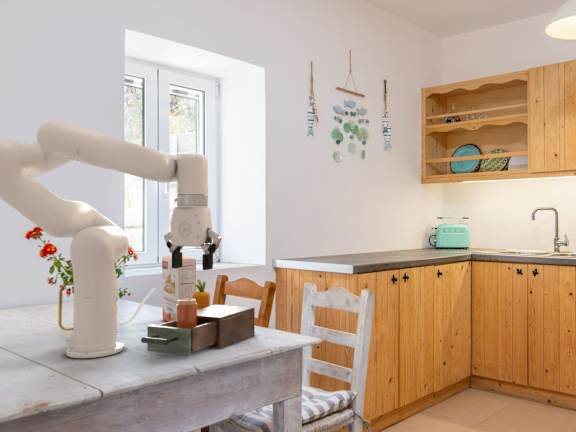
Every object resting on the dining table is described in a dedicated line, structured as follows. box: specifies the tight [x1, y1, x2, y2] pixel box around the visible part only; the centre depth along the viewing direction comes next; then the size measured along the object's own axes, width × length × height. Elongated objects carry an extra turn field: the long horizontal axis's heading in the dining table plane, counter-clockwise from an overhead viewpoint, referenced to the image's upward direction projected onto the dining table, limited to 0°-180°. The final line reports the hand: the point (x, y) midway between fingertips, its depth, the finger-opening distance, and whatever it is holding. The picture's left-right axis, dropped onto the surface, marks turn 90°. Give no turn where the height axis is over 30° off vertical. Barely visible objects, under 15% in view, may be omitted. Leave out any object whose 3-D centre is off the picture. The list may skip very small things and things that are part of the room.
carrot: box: [193, 279, 211, 309], centre depth 159 cm, size 5×5×15 cm
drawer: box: [140, 319, 218, 357], centre depth 133 cm, size 19×12×6 cm, turn 160°
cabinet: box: [197, 304, 256, 350], centre depth 146 cm, size 16×14×8 cm
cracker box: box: [161, 255, 197, 322], centre depth 168 cm, size 14×6×21 cm, turn 42°
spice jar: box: [176, 298, 197, 329], centre depth 135 cm, size 5×5×11 cm
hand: (192, 268), depth 135 cm, fingers open, 9 cm apart
